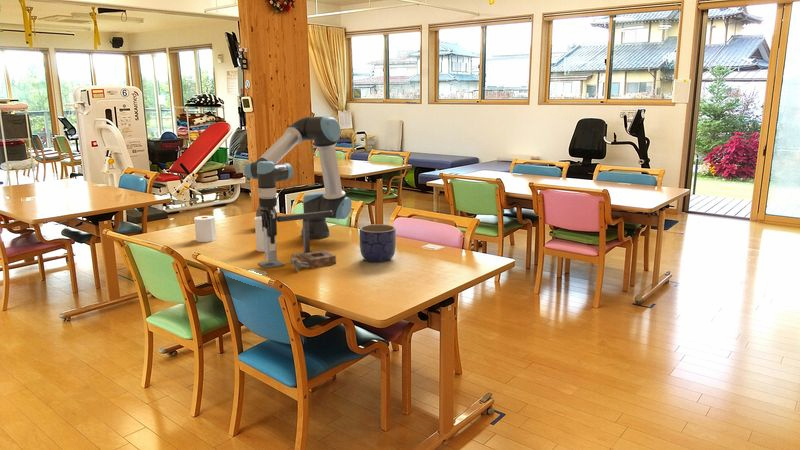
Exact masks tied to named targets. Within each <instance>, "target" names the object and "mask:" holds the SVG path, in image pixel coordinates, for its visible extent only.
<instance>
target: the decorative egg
mask: <svg viewBox="0 0 800 450" xmlns="http://www.w3.org/2000/svg"><path fill="white" fill-rule="evenodd" d="M273 209H274V214H277V215H278V212H277V210H276V206H274V207H273ZM261 210H263V207H260V206H259V205H258V206H257V208H256V213H255V217H259V216H261Z"/></svg>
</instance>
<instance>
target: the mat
mask: <svg viewBox="0 0 800 450" xmlns="http://www.w3.org/2000/svg"><path fill="white" fill-rule="evenodd" d="M257 265H259V266H260V267H262V268H263V269H266V270H267V269H272V268H279V267H285V265H286V264H285V263H283V262H281V261H280V260H278V259H277V261H273V262H267V261H266V260H265V261H261V262H257Z"/></svg>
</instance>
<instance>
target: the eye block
mask: <svg viewBox="0 0 800 450" xmlns="http://www.w3.org/2000/svg"><path fill="white" fill-rule="evenodd" d="M302 253H303V252H302ZM336 257H337V256H336V255H335V254H332V253H331V252H328V251H327V250H325V249H323V250H316V251H312V252H309V253H303V254H300V258H299V259H300V260H299V261H301V262H306V263H308V264H307V266H308V265H309V267H308V268H312V269H313V268H317V267H323V266H328V265H329V266H330V265H335V264H336V263H337V260H336V259H337V258H336Z"/></svg>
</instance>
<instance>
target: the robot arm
mask: <svg viewBox="0 0 800 450" xmlns="http://www.w3.org/2000/svg"><path fill="white" fill-rule="evenodd" d="M341 133H342V132H341V125H340V123H339V121H338V120H337V119H336V118H334V117H331V116H303V117H301V118H300V119H298V120H295V121H294V122H293V123H292V124H290V125H289V126H287V128H286V129H285V131H284V134H283V135H281V136H280V137H279V138H278V139H277V140H276V141H275V142H274V143H273V144H272V145H271V146H270V147H269V148H268V149H267V150H266V151H265V152H264V153H263V154H262V155H261V156H260V157H259V158H257V160H255V161H249V162H247V163H246V164H245V166H244V168H243V171H244V174H245V175H244V176H245V177H247V178H249V179H252V180H257V189H258V190H257V193H258V197H259V198H258V206H260V207H263V210H261V217H262V231H263V227H268V229H269V235H268V238H269V251H274V250H276V251H277V245H276V246H275V236H277V235H278V227H277V225H278V224H277V223H278V222H277V221H276V218H277V216H278V213H277V214H274V209H273V207H277V204H278V201H277V200H278V199H277V185H276V184H277V182H282V181H287V180H290V179H292V177H293V176H294V168H293V166H292V165H291V164H290V163H289V162H281V163H280V161H281V160H283V158H284V157H285V156H286V155H287V154H288V153H289V152H290V151H291V150H292V149H294V147H296V145H300V144H301V143H302V142H305V141H313V144H314V147H316V148H317V150H318V155H319V157H318V158H319V161H320V168H321V173H322V181H323V185H324V186H323V187H324V192H321V191H320V192H319V191H317V192H311V193H307V194H304V196H303V198H302V199H303V201H302V204H303V207H302V208H303V213H312V212H321V211H329V210H331V211H333V215H332V216H328V217H319V218H310V219H308V221H309V239H323V238H327V237H329V236H330V227H328V223H327V219H336V220H346V218H348V217H349V216H350V213H351V210H352V206H353V205H352V204H353V202H352V199H350V197H348V196H347V195H346V192H345V191H344V190H343V189H342V181H341V176H340V169H339V163H338V157H337V155H338V154H337V151H336V150H337V149H336V145H337V144H338V140H340V137H341ZM300 234H301V237H302V238H303V226H302V228H301V231H300Z"/></svg>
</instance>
